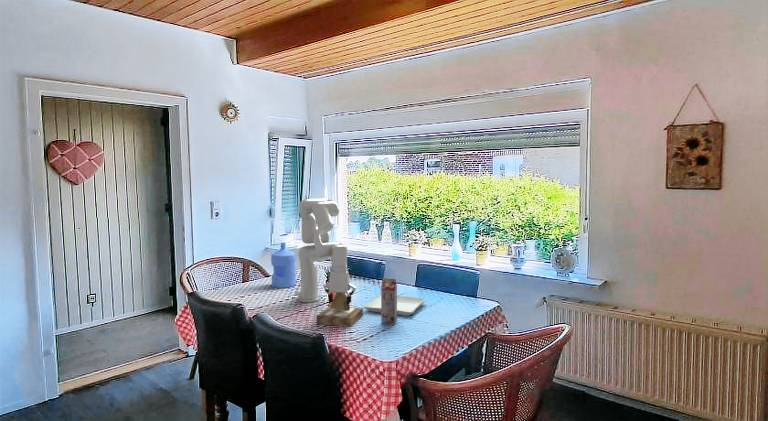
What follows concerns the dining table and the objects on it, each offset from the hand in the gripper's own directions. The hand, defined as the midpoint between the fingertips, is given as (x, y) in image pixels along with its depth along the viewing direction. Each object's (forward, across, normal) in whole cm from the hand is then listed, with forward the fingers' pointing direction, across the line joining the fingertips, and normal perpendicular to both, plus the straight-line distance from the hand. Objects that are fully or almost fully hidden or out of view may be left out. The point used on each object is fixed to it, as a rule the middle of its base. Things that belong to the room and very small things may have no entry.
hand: (339, 302), depth 241 cm
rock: (+4, 0, +1) cm, 4 cm away
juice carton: (+9, +25, +2) cm, 27 cm away
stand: (+9, 0, 0) cm, 9 cm away
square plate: (+9, +22, +27) cm, 36 cm away
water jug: (+9, -62, +59) cm, 86 cm away
